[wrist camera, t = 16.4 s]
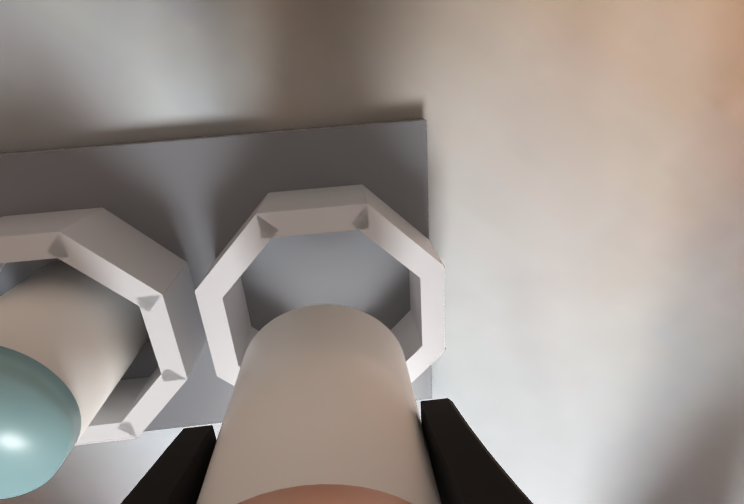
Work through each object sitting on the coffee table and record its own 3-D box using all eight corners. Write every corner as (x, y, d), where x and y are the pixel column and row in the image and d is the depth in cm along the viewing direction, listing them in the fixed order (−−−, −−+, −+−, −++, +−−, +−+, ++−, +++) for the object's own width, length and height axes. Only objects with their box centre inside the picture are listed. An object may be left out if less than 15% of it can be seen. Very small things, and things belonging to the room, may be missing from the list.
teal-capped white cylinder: (53, 369, 17) (-82, 512, 11) (3, 267, 15) (-185, 377, 10) (167, 353, 17) (91, 485, 12) (131, 250, 15) (20, 348, 10)
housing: (48, 433, 19) (-2, 496, 16) (-85, 160, 14) (-187, 180, 11) (429, 390, 20) (445, 442, 17) (423, 119, 15) (443, 128, 12)
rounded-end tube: (257, 446, 12) (196, 740, 7) (226, 314, 11) (110, 566, 5) (409, 428, 13) (467, 700, 7) (402, 295, 11) (472, 519, 5)
